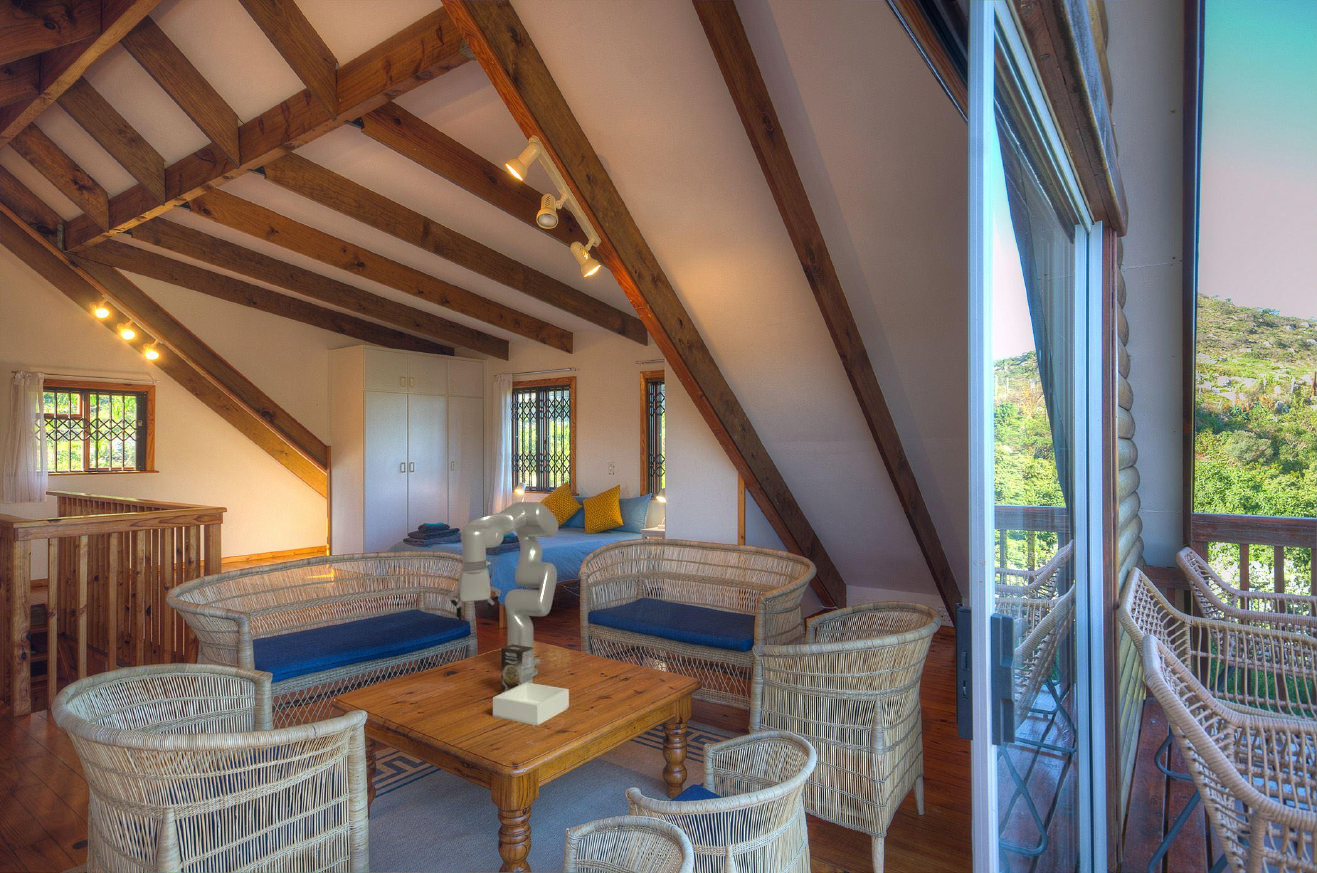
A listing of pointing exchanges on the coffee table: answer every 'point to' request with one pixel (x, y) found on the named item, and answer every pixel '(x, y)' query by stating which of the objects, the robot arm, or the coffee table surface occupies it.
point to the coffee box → (516, 666)
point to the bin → (531, 703)
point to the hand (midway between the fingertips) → (475, 617)
